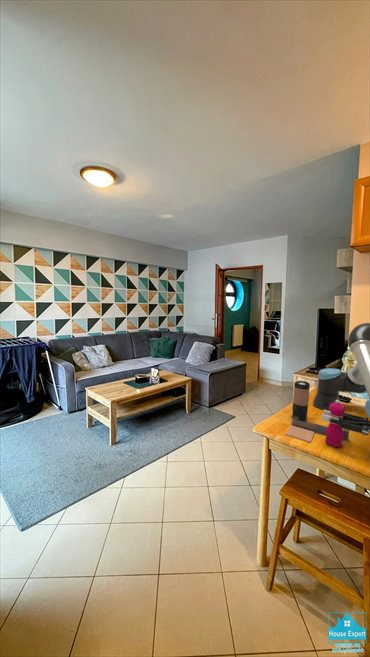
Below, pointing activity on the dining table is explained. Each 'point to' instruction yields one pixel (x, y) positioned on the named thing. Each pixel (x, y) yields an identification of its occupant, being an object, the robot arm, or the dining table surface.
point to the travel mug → (300, 400)
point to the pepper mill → (335, 425)
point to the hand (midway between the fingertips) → (322, 415)
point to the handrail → (315, 427)
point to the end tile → (300, 433)
